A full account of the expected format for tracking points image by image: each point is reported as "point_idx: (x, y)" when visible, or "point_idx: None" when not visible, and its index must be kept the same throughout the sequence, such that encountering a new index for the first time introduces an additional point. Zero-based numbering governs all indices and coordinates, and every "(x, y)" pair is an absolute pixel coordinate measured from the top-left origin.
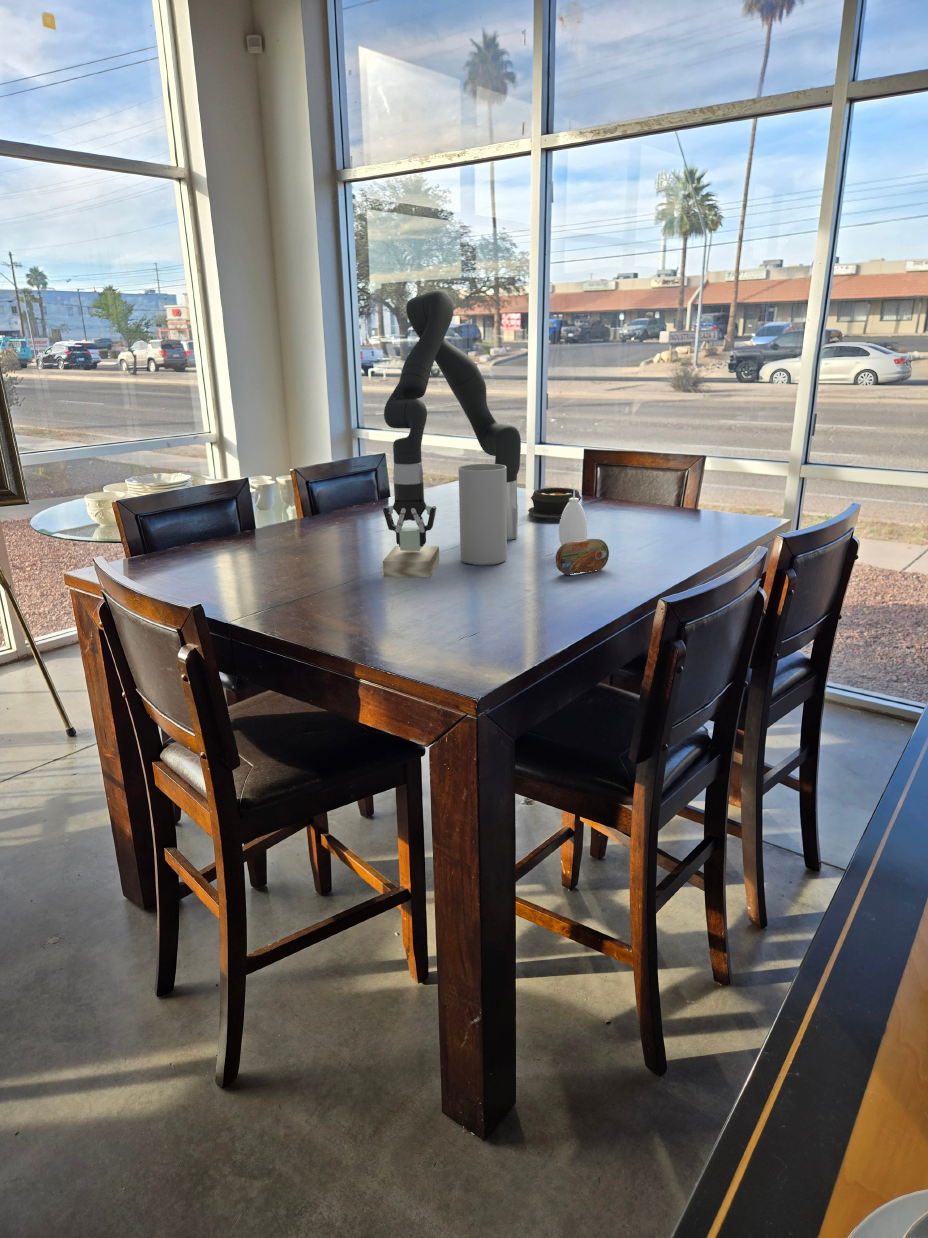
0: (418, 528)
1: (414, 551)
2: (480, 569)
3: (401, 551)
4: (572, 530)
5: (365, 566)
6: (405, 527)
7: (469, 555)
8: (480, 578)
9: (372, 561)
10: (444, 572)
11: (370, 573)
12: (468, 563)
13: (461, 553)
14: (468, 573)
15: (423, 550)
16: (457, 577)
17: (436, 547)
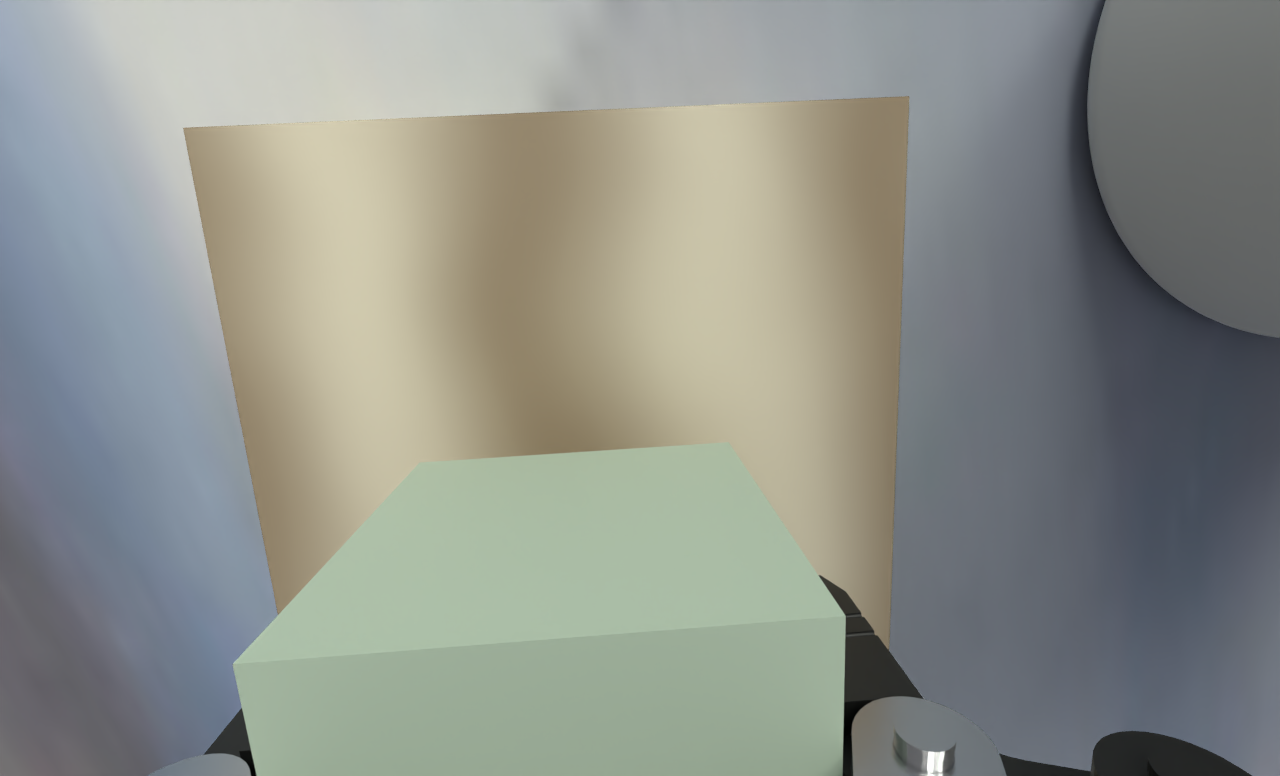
0: (765, 752)
1: (599, 448)
2: (1258, 448)
3: (411, 466)
4: None
5: (60, 463)
6: (325, 682)
7: (1273, 315)
8: (1240, 712)
9: (36, 245)
10: (928, 581)
11: (233, 693)
12: (1162, 286)
13: (1170, 183)
14: (1145, 586)
15: (715, 381)
16: (1052, 709)
17: (880, 182)
